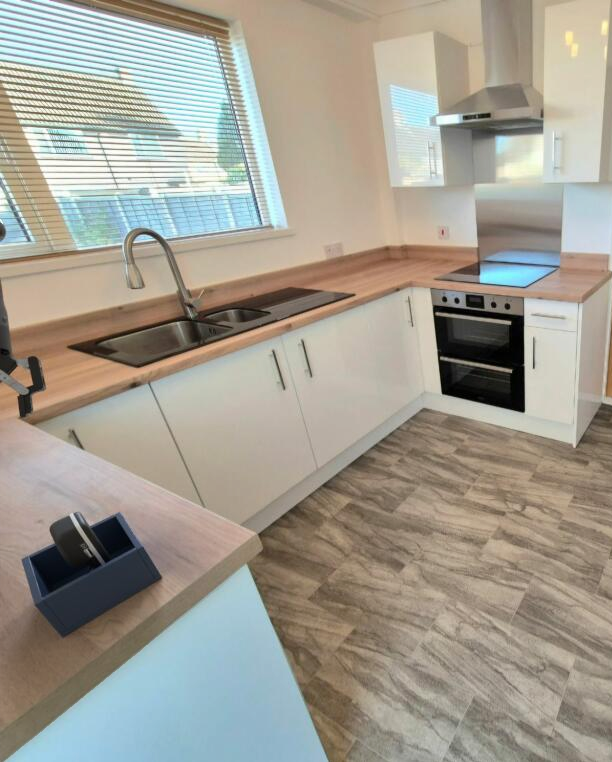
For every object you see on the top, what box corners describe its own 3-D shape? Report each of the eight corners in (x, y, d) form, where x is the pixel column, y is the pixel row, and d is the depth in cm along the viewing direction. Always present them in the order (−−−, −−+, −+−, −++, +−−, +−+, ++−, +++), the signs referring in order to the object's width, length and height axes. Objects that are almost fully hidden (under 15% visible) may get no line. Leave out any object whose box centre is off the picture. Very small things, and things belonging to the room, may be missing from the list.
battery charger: (82, 576, 66) (41, 522, 61) (113, 560, 69) (76, 506, 64) (93, 600, 62) (51, 543, 57) (125, 581, 65) (87, 525, 60)
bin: (62, 637, 58) (34, 605, 55) (46, 590, 65) (20, 559, 62) (162, 577, 66) (143, 546, 63) (138, 541, 73) (120, 511, 70)
